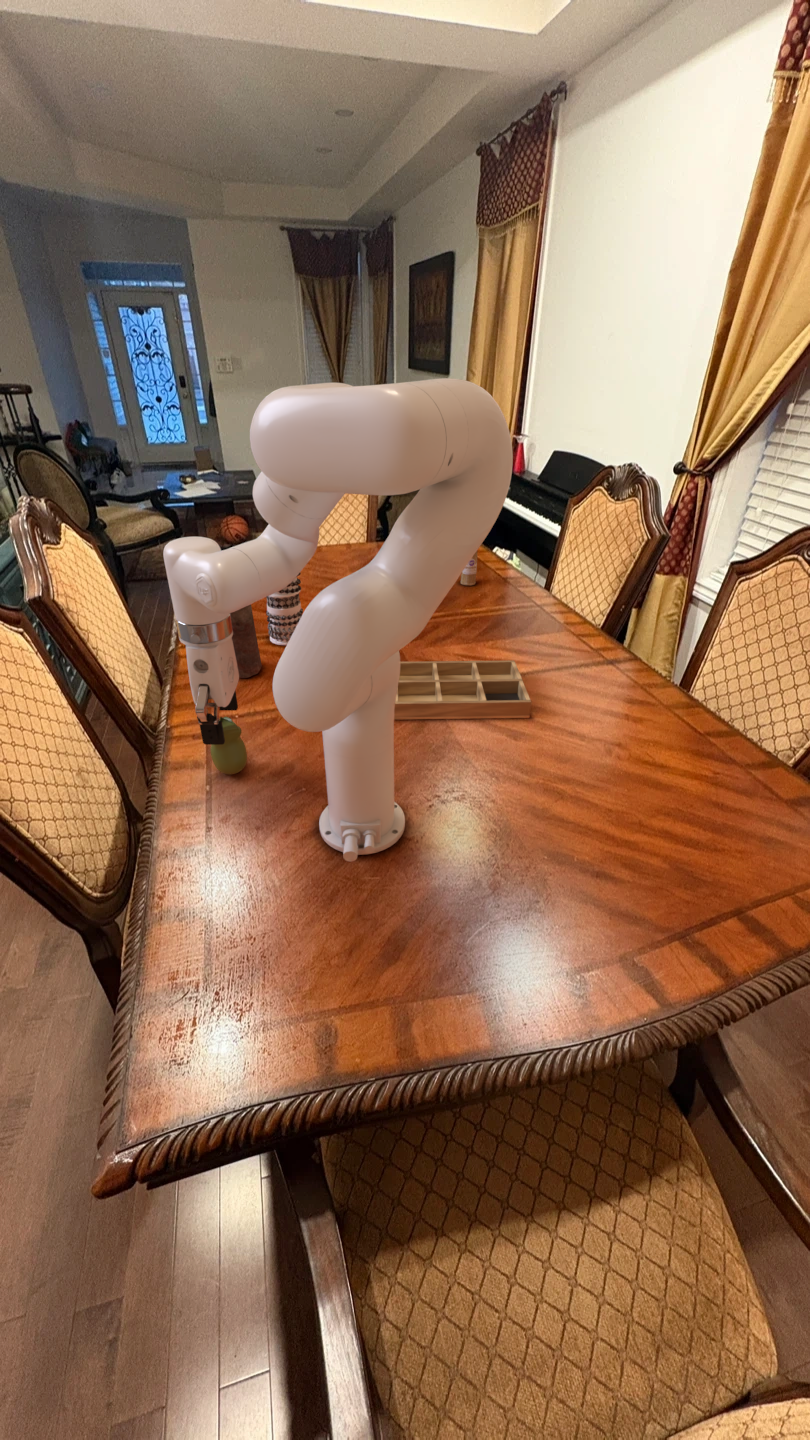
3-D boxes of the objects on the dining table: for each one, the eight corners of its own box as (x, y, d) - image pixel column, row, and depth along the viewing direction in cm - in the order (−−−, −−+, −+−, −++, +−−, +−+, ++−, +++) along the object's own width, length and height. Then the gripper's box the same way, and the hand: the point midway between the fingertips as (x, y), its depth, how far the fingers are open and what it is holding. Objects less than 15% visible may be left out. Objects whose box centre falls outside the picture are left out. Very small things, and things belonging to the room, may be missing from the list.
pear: (242, 757, 104) (233, 707, 99) (254, 772, 100) (246, 721, 95) (210, 768, 101) (199, 718, 96) (222, 784, 98) (211, 733, 92)
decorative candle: (264, 633, 148) (250, 529, 135) (301, 627, 151) (291, 525, 138) (272, 648, 141) (258, 540, 127) (311, 641, 144) (301, 535, 131)
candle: (219, 674, 130) (202, 583, 119) (241, 660, 136) (228, 573, 125) (246, 682, 127) (232, 590, 116) (269, 667, 133) (257, 578, 122)
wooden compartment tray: (529, 717, 115) (531, 701, 113) (394, 719, 115) (394, 703, 113) (512, 674, 130) (514, 660, 128) (393, 676, 129) (392, 661, 127)
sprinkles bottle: (465, 587, 176) (468, 540, 169) (457, 582, 179) (459, 536, 172) (478, 584, 178) (482, 538, 170) (470, 580, 181) (473, 534, 174)
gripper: (217, 654, 80) (234, 758, 90) (242, 604, 95) (254, 698, 104) (159, 653, 80) (182, 758, 89) (194, 603, 94) (210, 697, 104)
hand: (221, 725), depth 97 cm, fingers open, 9 cm apart
